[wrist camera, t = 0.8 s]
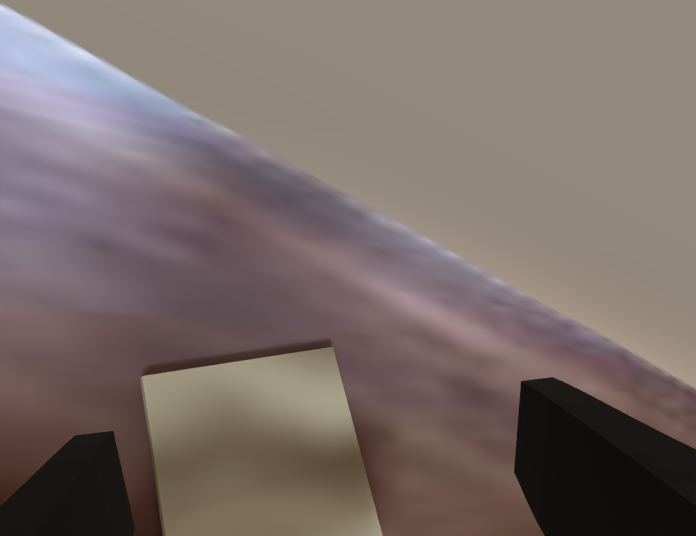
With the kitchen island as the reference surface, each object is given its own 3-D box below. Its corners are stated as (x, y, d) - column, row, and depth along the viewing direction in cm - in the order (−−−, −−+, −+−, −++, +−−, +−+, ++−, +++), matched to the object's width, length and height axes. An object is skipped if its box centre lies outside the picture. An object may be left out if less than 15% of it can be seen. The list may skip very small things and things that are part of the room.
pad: (378, 542, 28) (384, 541, 28) (174, 618, 23) (177, 619, 23) (328, 349, 32) (332, 346, 31) (140, 379, 26) (142, 375, 26)
